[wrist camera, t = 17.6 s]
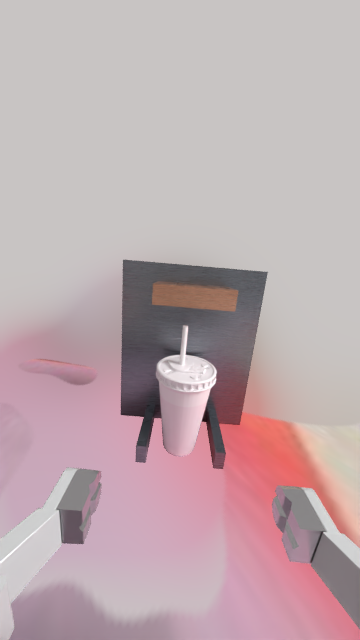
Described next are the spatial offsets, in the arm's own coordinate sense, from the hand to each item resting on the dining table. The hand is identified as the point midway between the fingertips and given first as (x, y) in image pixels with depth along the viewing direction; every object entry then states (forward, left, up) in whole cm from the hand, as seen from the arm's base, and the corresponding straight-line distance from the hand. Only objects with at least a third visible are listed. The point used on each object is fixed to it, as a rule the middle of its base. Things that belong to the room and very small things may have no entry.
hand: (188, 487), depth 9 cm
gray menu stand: (0, +12, -10) cm, 16 cm away
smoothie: (0, +12, -10) cm, 16 cm away
